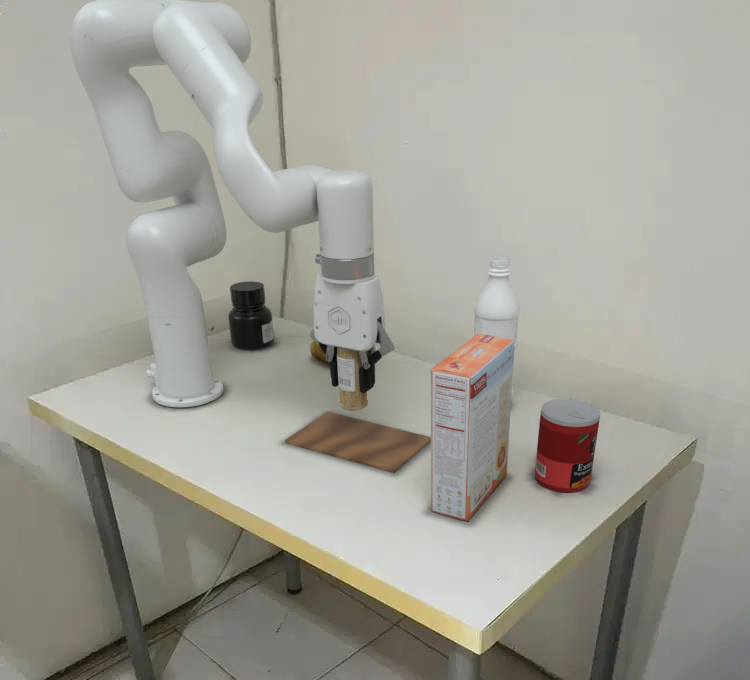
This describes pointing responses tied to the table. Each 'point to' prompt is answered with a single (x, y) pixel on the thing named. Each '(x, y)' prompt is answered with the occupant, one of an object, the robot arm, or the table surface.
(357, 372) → the spice jar
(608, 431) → the table surface
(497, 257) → the water bottle
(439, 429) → the cracker box
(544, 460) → the canned food
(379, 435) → the wooden board
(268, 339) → the ink bottle
